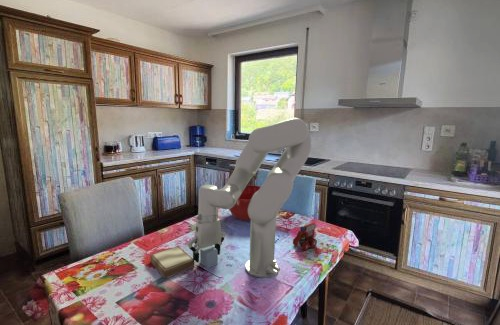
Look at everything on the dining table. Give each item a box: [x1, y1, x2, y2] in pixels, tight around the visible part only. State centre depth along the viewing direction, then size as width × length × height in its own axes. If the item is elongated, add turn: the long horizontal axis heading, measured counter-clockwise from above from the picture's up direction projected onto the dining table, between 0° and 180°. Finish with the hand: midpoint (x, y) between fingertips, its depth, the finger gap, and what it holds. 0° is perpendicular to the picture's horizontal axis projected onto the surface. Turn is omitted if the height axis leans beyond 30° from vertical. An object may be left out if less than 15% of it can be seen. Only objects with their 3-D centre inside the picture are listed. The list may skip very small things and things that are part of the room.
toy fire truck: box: [292, 222, 318, 251], centre depth 120 cm, size 7×12×10 cm, turn 128°
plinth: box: [149, 245, 195, 279], centre depth 104 cm, size 14×12×3 cm
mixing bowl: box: [228, 184, 261, 222], centre depth 154 cm, size 28×28×15 cm
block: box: [199, 245, 219, 268], centre depth 105 cm, size 5×5×6 cm
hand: (206, 257), depth 105 cm, fingers open, 9 cm apart
